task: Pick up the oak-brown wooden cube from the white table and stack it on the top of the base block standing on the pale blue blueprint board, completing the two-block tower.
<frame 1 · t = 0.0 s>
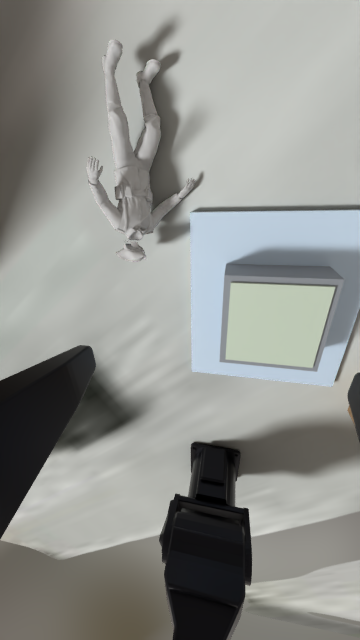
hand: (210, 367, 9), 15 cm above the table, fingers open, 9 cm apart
base block: (271, 318, 21), on the blueprint board, point 2 cm above the table
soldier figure: (144, 170, 20), on the table
blueprint board: (268, 306, 23), on the table
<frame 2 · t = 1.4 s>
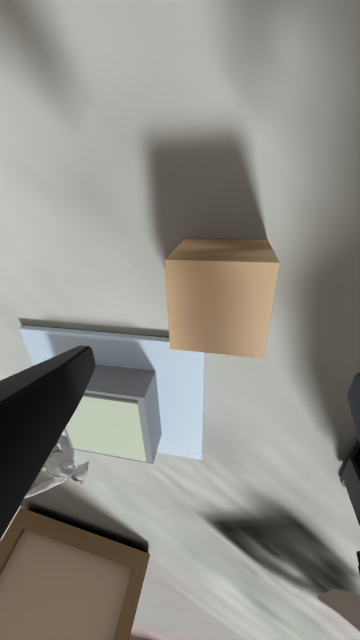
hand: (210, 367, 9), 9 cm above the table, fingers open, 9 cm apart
oak cube: (222, 277, 16), on the table
base block: (110, 413, 22), on the blueprint board, point 2 cm above the table
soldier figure: (50, 440, 31), on the table
blueprint board: (120, 394, 24), on the table
photo frame: (87, 538, 44), on the table
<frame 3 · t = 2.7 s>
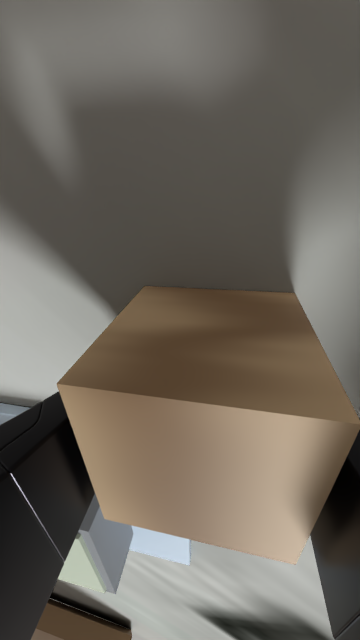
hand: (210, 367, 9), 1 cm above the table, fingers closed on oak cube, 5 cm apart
oak cube: (212, 350, 10), on the table, touching gripper
base block: (53, 519, 15), on the blueprint board, point 2 cm above the table
blueprint board: (74, 482, 17), on the table
photo frame: (60, 605, 37), on the table
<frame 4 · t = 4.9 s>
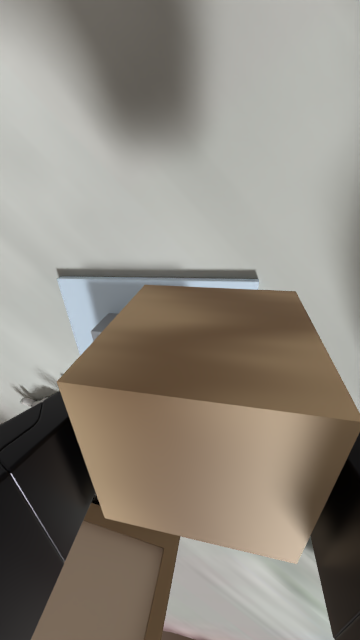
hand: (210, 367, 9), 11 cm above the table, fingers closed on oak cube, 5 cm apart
oak cube: (213, 349, 10), point 10 cm above the table, touching gripper
blueprint board: (159, 350, 23), on the table
photo frame: (113, 521, 43), on the table
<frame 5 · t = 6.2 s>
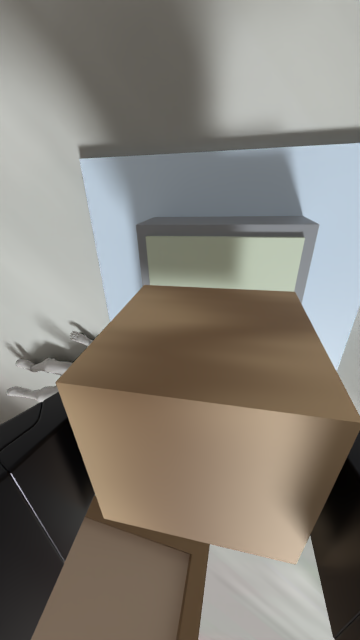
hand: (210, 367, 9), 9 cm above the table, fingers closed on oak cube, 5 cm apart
oak cube: (212, 349, 10), point 8 cm above the table, touching gripper
base block: (219, 295, 14), on the blueprint board, point 2 cm above the table
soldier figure: (87, 366, 23), on the table
blueprint board: (221, 282, 16), on the table
photo frame: (125, 520, 36), on the table
when the fingers open (6 cm above the table, at t = 7.1 s): oak cube drops 1 cm, resting on base block.
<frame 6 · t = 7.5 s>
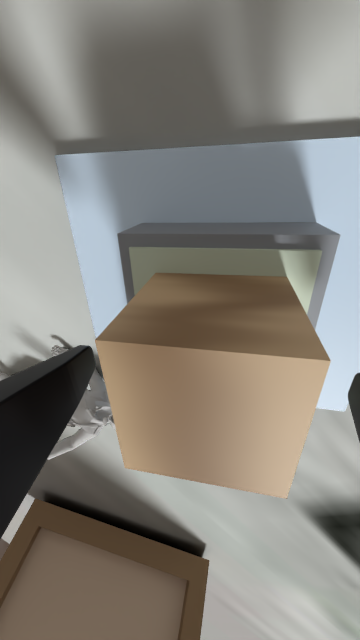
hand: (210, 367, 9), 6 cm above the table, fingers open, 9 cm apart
oak cube: (215, 330, 11), point 4 cm above the table, touching base block
base block: (217, 314, 12), on the blueprint board, point 2 cm above the table
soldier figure: (72, 382, 21), on the table
blueprint board: (220, 296, 14), on the table
photo frame: (119, 539, 34), on the table
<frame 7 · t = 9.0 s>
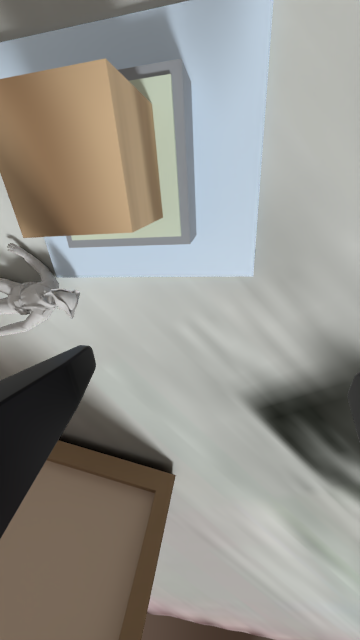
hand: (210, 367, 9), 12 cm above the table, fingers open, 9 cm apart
oak cube: (113, 170, 13), point 4 cm above the table, touching base block
base block: (124, 172, 15), on the blueprint board, point 2 cm above the table
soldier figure: (30, 287, 23), on the table
blueprint board: (136, 173, 17), on the table
photo frame: (97, 471, 37), on the table
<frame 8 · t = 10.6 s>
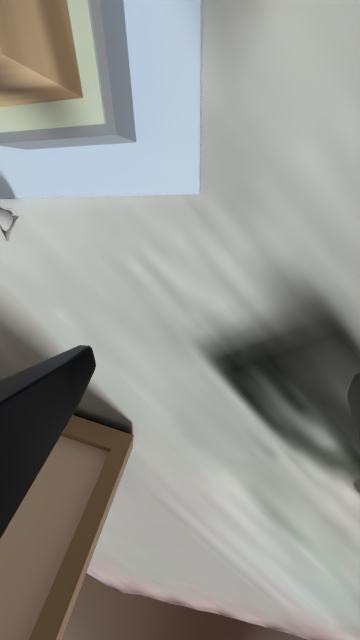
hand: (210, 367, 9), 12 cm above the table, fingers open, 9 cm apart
oak cube: (23, 34, 12), point 4 cm above the table, touching base block
base block: (45, 51, 13), on the blueprint board, point 2 cm above the table
blueprint board: (69, 67, 15), on the table
photo frame: (58, 434, 35), on the table
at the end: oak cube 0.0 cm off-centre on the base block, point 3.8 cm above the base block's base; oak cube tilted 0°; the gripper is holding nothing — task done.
